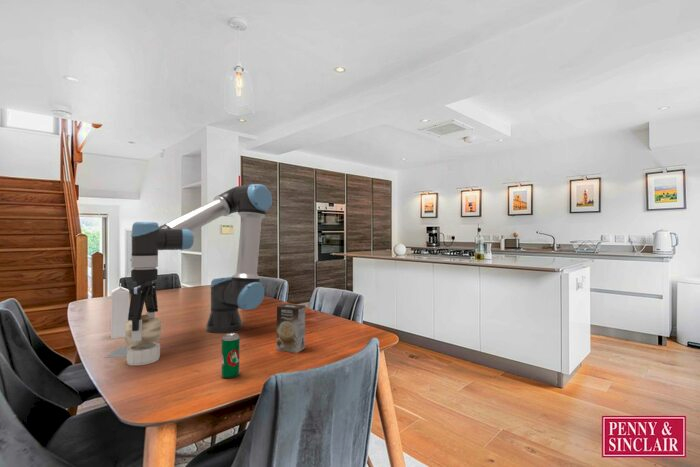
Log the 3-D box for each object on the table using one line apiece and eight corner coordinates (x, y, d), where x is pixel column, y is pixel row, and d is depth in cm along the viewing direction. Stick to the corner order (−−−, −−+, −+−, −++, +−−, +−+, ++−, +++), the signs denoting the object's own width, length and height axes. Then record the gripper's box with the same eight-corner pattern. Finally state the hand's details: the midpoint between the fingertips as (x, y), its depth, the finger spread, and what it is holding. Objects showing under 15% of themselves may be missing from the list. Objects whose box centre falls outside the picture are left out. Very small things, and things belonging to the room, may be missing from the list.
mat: (156, 345, 127) (156, 344, 127) (143, 356, 116) (143, 355, 116) (121, 347, 125) (121, 346, 125) (104, 358, 113) (104, 357, 113)
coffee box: (275, 350, 123) (275, 306, 123) (284, 345, 129) (284, 303, 129) (297, 353, 120) (298, 308, 120) (305, 347, 126) (306, 304, 126)
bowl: (163, 355, 116) (163, 341, 117) (153, 365, 108) (153, 349, 108) (134, 357, 115) (134, 342, 115) (121, 367, 106) (121, 351, 106)
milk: (111, 340, 134) (111, 284, 135) (110, 336, 139) (110, 283, 139) (129, 337, 138) (129, 283, 138) (128, 333, 143) (128, 281, 143)
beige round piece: (165, 335, 117) (165, 311, 117) (154, 343, 107) (154, 318, 107) (133, 336, 115) (133, 312, 115) (119, 345, 105) (119, 319, 105)
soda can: (224, 372, 102) (224, 332, 103) (241, 371, 103) (241, 332, 103) (219, 379, 97) (219, 337, 98) (237, 378, 98) (237, 337, 98)
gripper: (146, 265, 122) (145, 327, 122) (115, 271, 100) (113, 347, 99) (168, 265, 123) (167, 326, 123) (142, 271, 101) (141, 345, 101)
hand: (143, 335), depth 111 cm, fingers closed on beige round piece, 10 cm apart
